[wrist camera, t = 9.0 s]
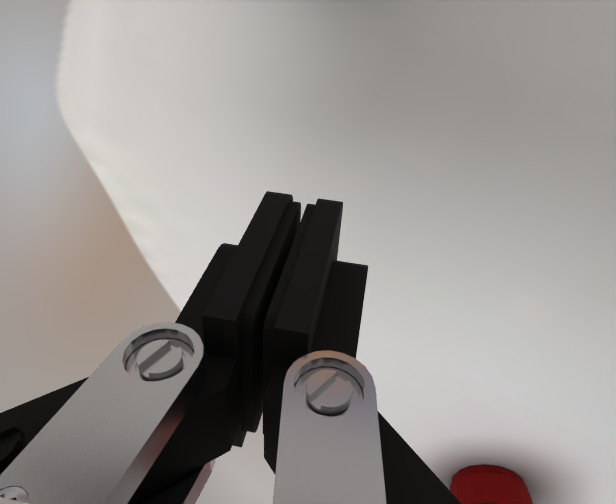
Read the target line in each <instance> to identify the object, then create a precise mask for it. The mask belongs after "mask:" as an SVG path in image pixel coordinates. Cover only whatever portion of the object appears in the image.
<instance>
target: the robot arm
mask: <svg viewBox="0 0 616 504" xmlns="http://www.w3.org/2000/svg"><path fill="white" fill-rule="evenodd" d="M342 209H343V202H339V201H332V200H325V199H318V200H317V202H316V205H313V204H307V206H306V209H305V211H304V214H303V217H302V220H301V222H300V217H301V203H299V202H293V196H292V195H289V194H282V193H275V192H266V194H265V195H264V197H263V199H262V201H261V203H260V205H259V207H258V209H257V211H256V212H255V214H254V216H253V218H252V220H251V222H250V224H249V226H248V228H247V229H246V231H245V233H244V235H243V237H242V239H241V241H240V243H239V245H232V244H226V243H224V244H221V245H220V247H219V248H218V250H217V251H216V253H215V255H214V257H213V258H212V260H211V262H210V263H209V265H208V267H207V269H206V270H205V272H204V274H203V275H202V277H201V279H200V281H199V282H198V284H197V286H196V288H195V289H194V291H193V293H192V294H191V296H190V298H189V300H188V301H187V303H186V305H185V306H184V308H183V310H182V312H181V313H180V315H179V317H178V319H177V320H176V322H175V323H172V322H166V323H155V324H151V325H147V326H144V327H142V328H140V329H138V330H136V331H134V332H132V333H131V334H130V335H128V336H127V337H126V338H125V339H124V340H122V341H121V343H120V344H119V345H118V346H117V347H116V348H115V349H114V350H113V351H112V352H111V353H110V355H109V356H108V357H107V358H106V359H105V360H104V361H103V362H102V363H101V364H100V366H99V367H98V368H97V369H96V370H95V371H94V372H93V373H92V375H90V377H87V378H85V379H83V380H80V381H78V382H75V383H73V384H70V385H68V386H66V387H63V388H61V389H58V390H56V391H53V392H51V393H49V394H46V395H44V396H41V397H39V398H36V399H34V400H31V401H29V402H26V403H24V404H22V405H19V406H17V407H14V408H12V409H9V410H7V411H4V412H2V413H0V504H195V502H196V501H197V499H198V497H199V495H200V493H201V491H202V489H203V488H204V485H205V484H206V482H207V480H208V478H209V476H210V474H211V472H212V469H213V467H214V464H215V459H216V458H217V457H219V456H221V455H223V454H225V453H226V452H228V451H230V450H231V447H232V445H233V446H238V447H242V445H243V442H244V438H245V436H246V432H247V431H249V432H254V433H255V432H256V430H257V428H258V425H259V421H260V419H261V415H262V412H263V434H264V458H265V460H266V461H267V463H268V464H269V466H270V467H271V469H272V470H273V472H274V474H275V484H274V496H273V504H461V503H460V502H459V501H458V499H457V498H456V497H455V496H454V495H453V494H452V493H451V492H450V491H449V489H448V488H447V487H446V486H445V485H444V484H443V483H442V482H441V481H440V479H439V478H438V477H437V476H436V475H435V474H434V473H433V472H432V471H431V469H430V468H429V467H428V466H427V465H426V464H425V463H424V462H423V461H422V460H421V458H420V457H419V456H418V455H417V454H416V453H415V452H414V451H413V450H412V448H411V447H410V446H409V445H408V444H407V443H406V442H405V441H404V440H403V438H402V437H401V436H400V435H399V434H398V433H397V432H396V431H395V430H394V428H393V427H392V426H391V425H390V424H389V423H388V422H387V421H386V420H385V419H384V417H383V416H382V415H381V414H380V413H379V412H378V411H377V400H376V390H375V385H374V382H373V378H372V376H371V374H370V373H369V371H368V370H367V369H366V367H365V366H364V365H363V364H361V363H360V362H359V361H358V360H356V352H357V345H358V338H359V330H360V323H361V316H362V308H363V301H364V294H365V286H366V279H367V271H368V266H367V265H361V264H354V263H348V262H342V261H337V254H338V245H339V236H340V227H341V218H342Z"/></svg>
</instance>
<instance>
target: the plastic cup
mask: <svg viewBox="0 0 616 504" xmlns="http://www.w3.org/2000/svg"><path fill="white" fill-rule="evenodd" d="M450 492H451V493H452V494H453V495H454V496H455V497H456V498H457V499H458V501H459V502H460V503H461V504H533V502H532V499H531V497H530V494H529V492H528V489H527V487H526V486H525V484H524V482H523V480H522V478H521V477H519V476H518V475H517V474H515V473H514V472H512V471H510V470H507V469H504V468H501V467H496V466H487V465H482V466H471V467H468V468H466V469H463V470H460V471H459V472H458V473H457V474H456V475H454V476H453V480H452V484H451V486H450Z"/></svg>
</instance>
